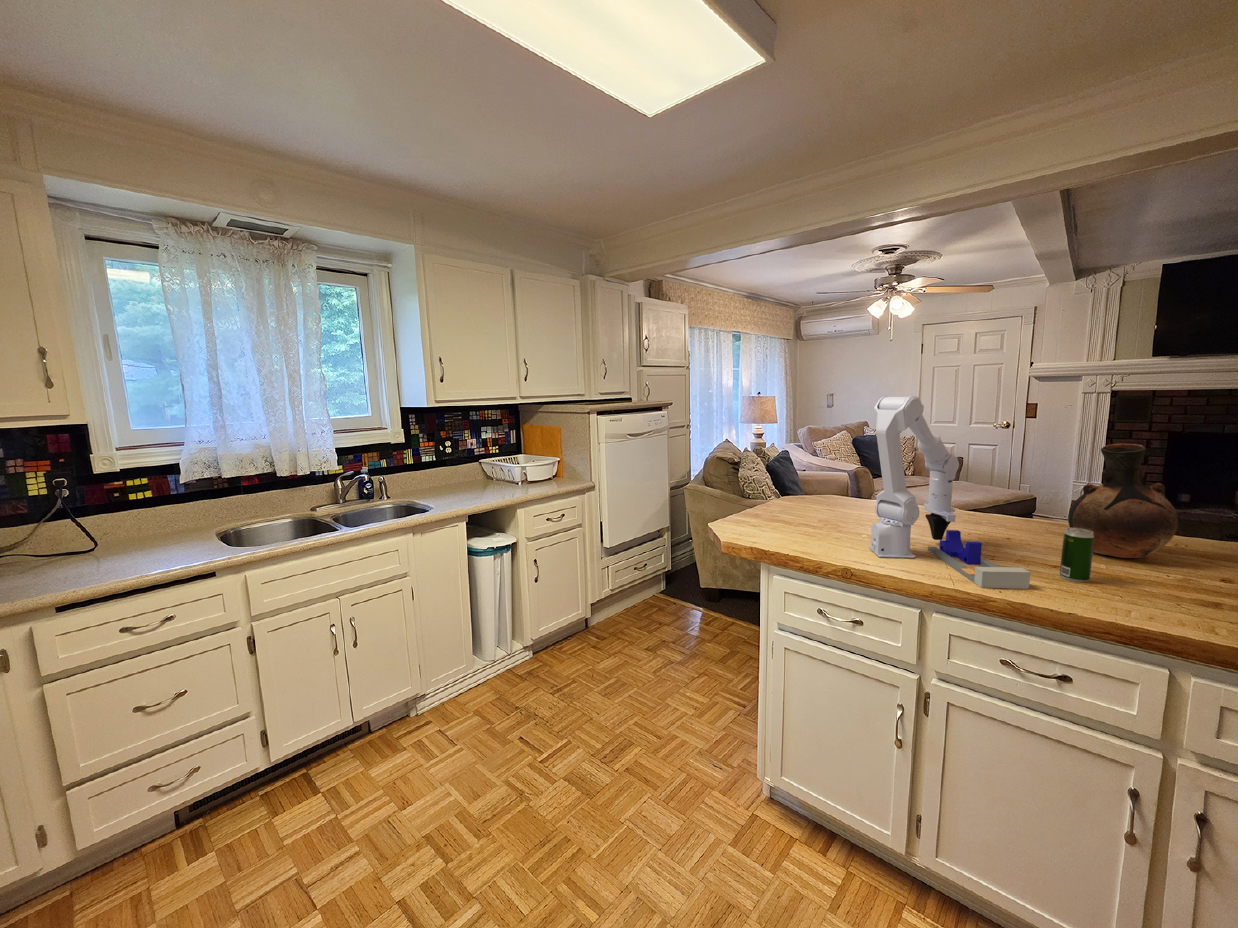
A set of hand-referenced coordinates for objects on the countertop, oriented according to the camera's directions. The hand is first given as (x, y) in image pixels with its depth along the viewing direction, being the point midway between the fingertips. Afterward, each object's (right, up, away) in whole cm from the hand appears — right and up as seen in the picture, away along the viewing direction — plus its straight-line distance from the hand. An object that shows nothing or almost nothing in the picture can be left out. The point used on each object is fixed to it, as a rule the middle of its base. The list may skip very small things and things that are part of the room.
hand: (937, 539), depth 148 cm
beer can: (+15, -6, -28) cm, 32 cm away
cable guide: (-3, -5, -19) cm, 19 cm away
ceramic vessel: (+40, -3, -13) cm, 42 cm away
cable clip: (-1, -4, -11) cm, 11 cm away
